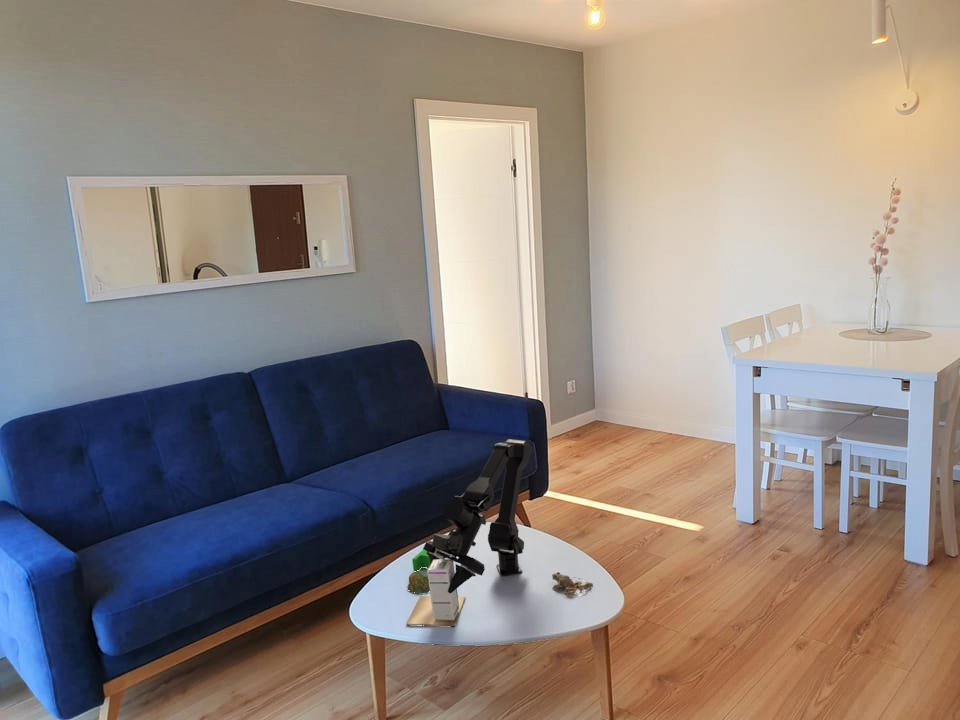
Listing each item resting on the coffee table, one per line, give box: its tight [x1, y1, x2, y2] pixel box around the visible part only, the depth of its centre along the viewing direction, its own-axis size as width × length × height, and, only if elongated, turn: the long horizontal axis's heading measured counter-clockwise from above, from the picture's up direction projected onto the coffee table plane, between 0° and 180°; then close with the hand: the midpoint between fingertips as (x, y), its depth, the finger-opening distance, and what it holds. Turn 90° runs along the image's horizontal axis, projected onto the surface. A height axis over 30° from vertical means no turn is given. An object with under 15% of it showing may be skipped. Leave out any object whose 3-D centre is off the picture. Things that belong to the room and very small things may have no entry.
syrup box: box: [426, 558, 459, 620], centre depth 194 cm, size 6×6×14 cm
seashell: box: [406, 570, 430, 595], centre depth 214 cm, size 10×4×10 cm
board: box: [405, 595, 466, 628], centre depth 200 cm, size 13×14×1 cm
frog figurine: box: [551, 571, 594, 598], centre depth 206 cm, size 12×12×4 cm
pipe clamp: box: [411, 548, 430, 572], centre depth 226 cm, size 11×4×5 cm, turn 152°
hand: (439, 588), depth 193 cm, fingers closed on syrup box, 7 cm apart
